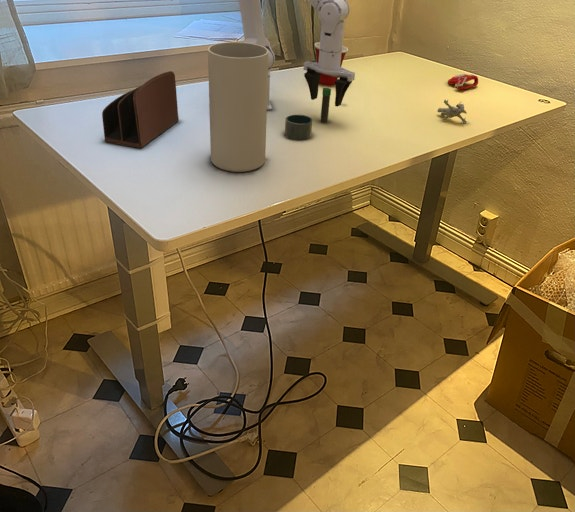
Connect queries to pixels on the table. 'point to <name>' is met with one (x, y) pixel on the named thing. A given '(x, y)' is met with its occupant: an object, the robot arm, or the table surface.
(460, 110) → the grey toy animal
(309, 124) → the tumbler
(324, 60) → the robot arm
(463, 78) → the keychain holder
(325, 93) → the marker
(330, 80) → the plastic cup
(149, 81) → the letter holder
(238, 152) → the cylinder vase
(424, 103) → the table surface
